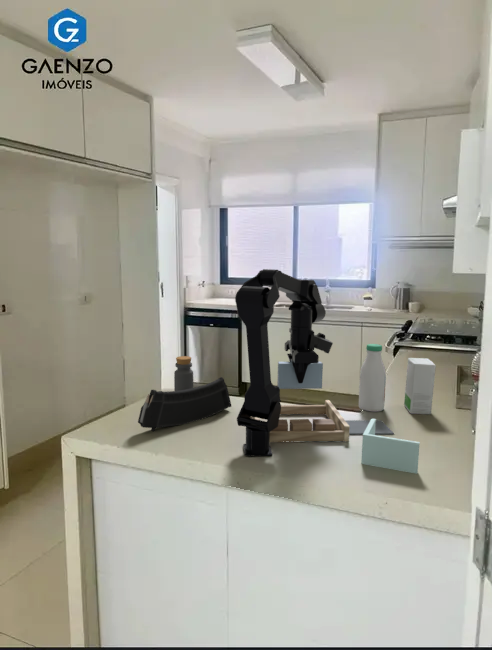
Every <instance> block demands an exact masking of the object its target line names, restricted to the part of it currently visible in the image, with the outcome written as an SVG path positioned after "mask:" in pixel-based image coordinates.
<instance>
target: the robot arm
mask: <svg viewBox="0 0 492 650" xmlns="http://www.w3.org/2000/svg"><path fill="white" fill-rule="evenodd" d="M280 292H282V293H285V297H286V298H288V299H289V300H290V301H291V302H292V303H291V304H290V305H289V306H288V310H289V311H290V327H289V329H288V330H289V333H290V335H289V336H290V338H289V339H290V340H286V341H285V342H284V351H285V352H289V353H287V354H286V355H287V358H288V362H292V365H293V368H294V371H295V374H296V377H297V380H298V383H303V380H304V377H305V373H306V370H307V367H308V365H309V364H311V363H318V362H319V358H320V357H319V354H317V353H316V351H315V349H317V350H320V351H321V352H324V353H325V354H328V355H329V354H330V351H331V349H332V347H333V344H334V343H333V342H332V341H331V340H329V339H328V338H327V339H326V335H325V334H324V333H321V332H318V333H316V334H315V331H314V330H313V329H312V327H313V324H315V323H319V322H321V321H323V320H324V318H325V317H326V315H327V314H326V313H327V310H326V309H325V306H324V305H323V304H322V303H323V302H322V299H321V295H320V291H319V286H318V285H317V283H316V281H315V280H314V279H298V278H296V277H293V276H291V275H289V274H287V273H284V272H282V271H281V270H279V269H271V268H269V269H268V268H266V269H265V268H263V269H262V270H259V272H258V273H257V274H256V275H255V276H253V277H251V278H250V279H249V280H246V281H245V282H244V283H243V284H242V285H241V286H240V287H239V289H238V291H236V293H235V297H234V302H235V305H236V311H237V312H236V313H237V315H238V317H239V318H240V320H241V322H242V323H243V325H244V326H245V330H246V334H245V335H246V345H247V356H248V357H247V358H248V359H247V360H248V371H249V387H248V388H247V390H246V391H245V393H244V401H243V403H242V406H241V408H240V409H239V412H238V415H237V417H236V422H237V425H238V427H239V426H241V427H245V443H243V445H242V446H243V447H242V448H243V452H244V456H245V457H272V456H273V450H272V447H271V444H270V443H271V442H270V431H272V430H273V429H275V428H277V427H278V423H279V419H280V417H281V415H280V412H281V405H282V404H281V401H282V399H281V389H279V387H278V386H277V385H274V384H273V383H272V374H271V362H270V361H271V359H270V347H269V346H270V345H269V328H268V327H269V326H268V323H269V321H270V320H271V318H272V316H273V314H274V309H275V304H276V303H277V301H278V300H279V298H280V296H281V295H280ZM251 416H252V417H256V418H260V420H256V419H252V417H251ZM265 420H266V421H265Z"/></svg>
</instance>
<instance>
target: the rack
mask: <svg viewBox="0 0 492 650" xmlns="http://www.w3.org/2000/svg"><path fill="white" fill-rule="evenodd" d="M280 414H306V415H327V416H326V417H327V419H328V418H329V419H332V421H333V422H334V423H335V430H334V431H289V430H288V431H270V443H287V442H286V441H289V442H288V443H295V442H294V441H343V442H344V441H345V442H346V441H348V442H350V435H349V429H350V426H349V425H348V424H347V422H346V421H345V418H344V417H343V416H342V415H341V413H340V412H339V411H338V409H337V408H336V407H335V405H334V404H333V403H332V402H331V400H329V399H325V401H324V404H297V405H296V404H289V405H288V404H287V405H286V404H281V412H280ZM251 418H252V419H256V420H261V418H256V417H251ZM283 441H284V442H283ZM291 441H293V442H291Z"/></svg>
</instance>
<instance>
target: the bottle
mask: <svg viewBox="0 0 492 650" xmlns="http://www.w3.org/2000/svg"><path fill="white" fill-rule="evenodd" d="M175 360H176V363H175V365H174V367H176V368H177V369H176V370H174V372H173V373H174V375H173V377H174V378H173V382H174V384H173V385H174V391H180V390H187V389H191V388H194V371H193V370H192V369H191V367H193V363H192V362H191V361H192V357H191V356H187V355H183V356H181V355H180V356H176V357H175Z"/></svg>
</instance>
